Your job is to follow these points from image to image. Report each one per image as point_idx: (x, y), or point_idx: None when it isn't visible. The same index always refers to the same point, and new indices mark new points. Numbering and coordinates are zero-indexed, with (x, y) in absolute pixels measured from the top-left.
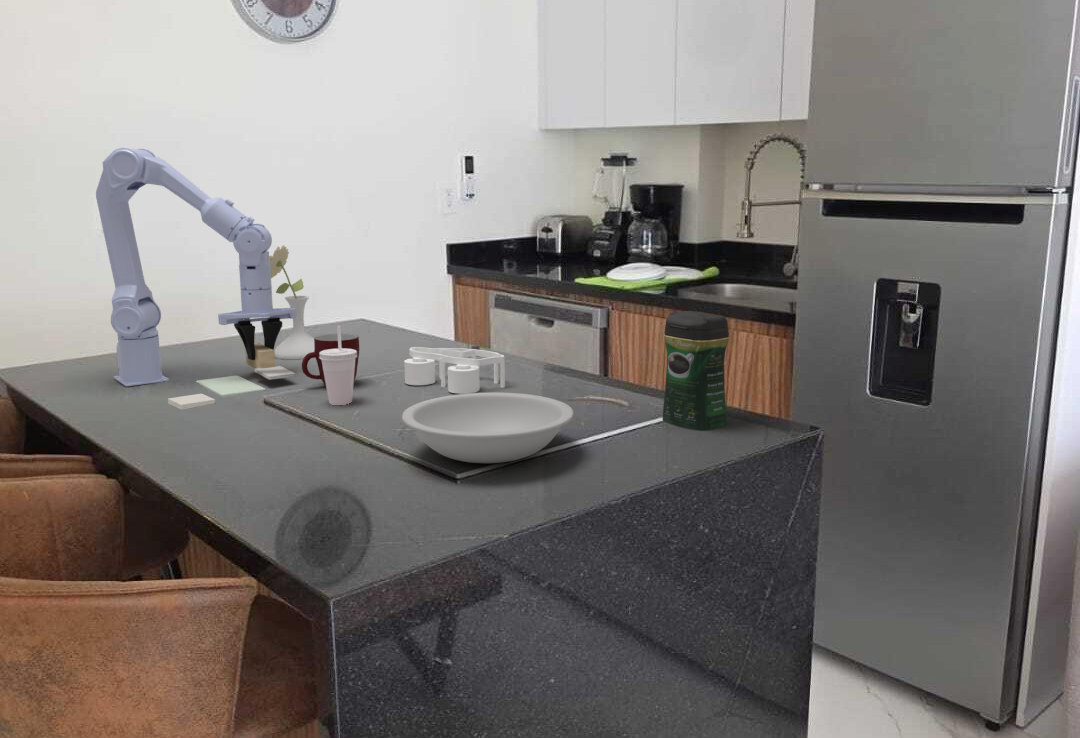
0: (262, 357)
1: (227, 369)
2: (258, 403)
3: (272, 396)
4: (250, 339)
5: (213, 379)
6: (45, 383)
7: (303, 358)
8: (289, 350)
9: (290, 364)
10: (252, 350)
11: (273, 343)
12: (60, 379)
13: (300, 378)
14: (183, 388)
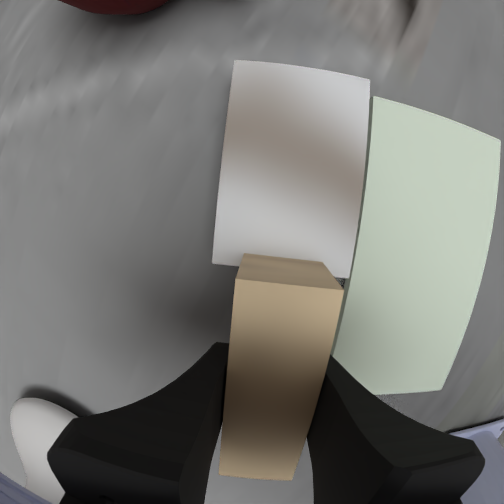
0: (323, 277)
1: (263, 485)
2: (431, 14)
3: (368, 44)
4: (378, 412)
5: (406, 381)
6: None
7: (65, 412)
8: None
9: None
10: (341, 374)
11: (193, 375)
12: None
13: (136, 247)
14: (473, 361)
